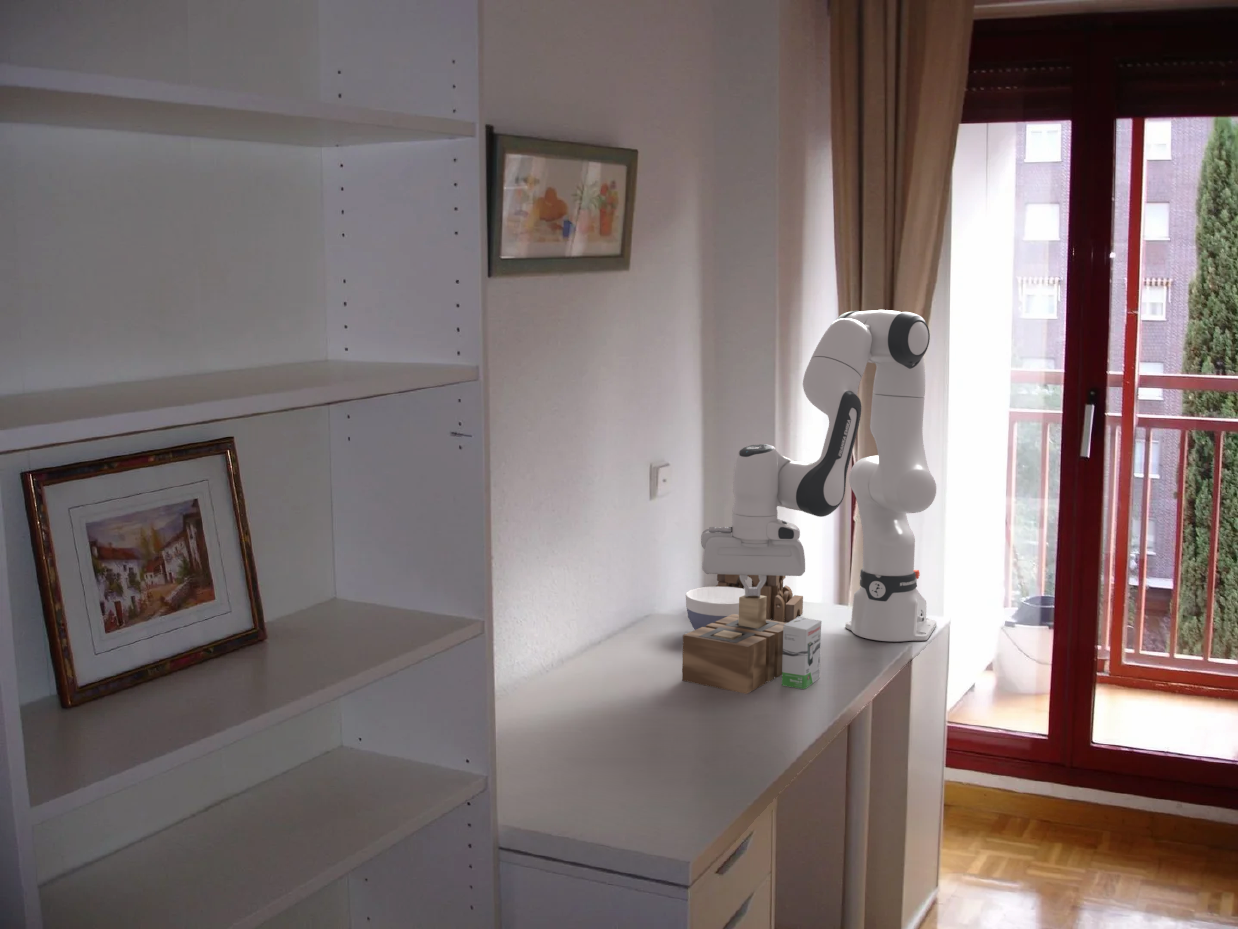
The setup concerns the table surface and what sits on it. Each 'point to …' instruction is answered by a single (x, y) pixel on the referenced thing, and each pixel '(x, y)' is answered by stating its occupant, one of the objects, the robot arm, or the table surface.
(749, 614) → the peg
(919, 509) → the robot arm
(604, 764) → the table surface
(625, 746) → the table surface
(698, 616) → the bowl
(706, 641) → the socket block
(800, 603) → the wooden puzzle
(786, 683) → the ink box
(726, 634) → the peg
